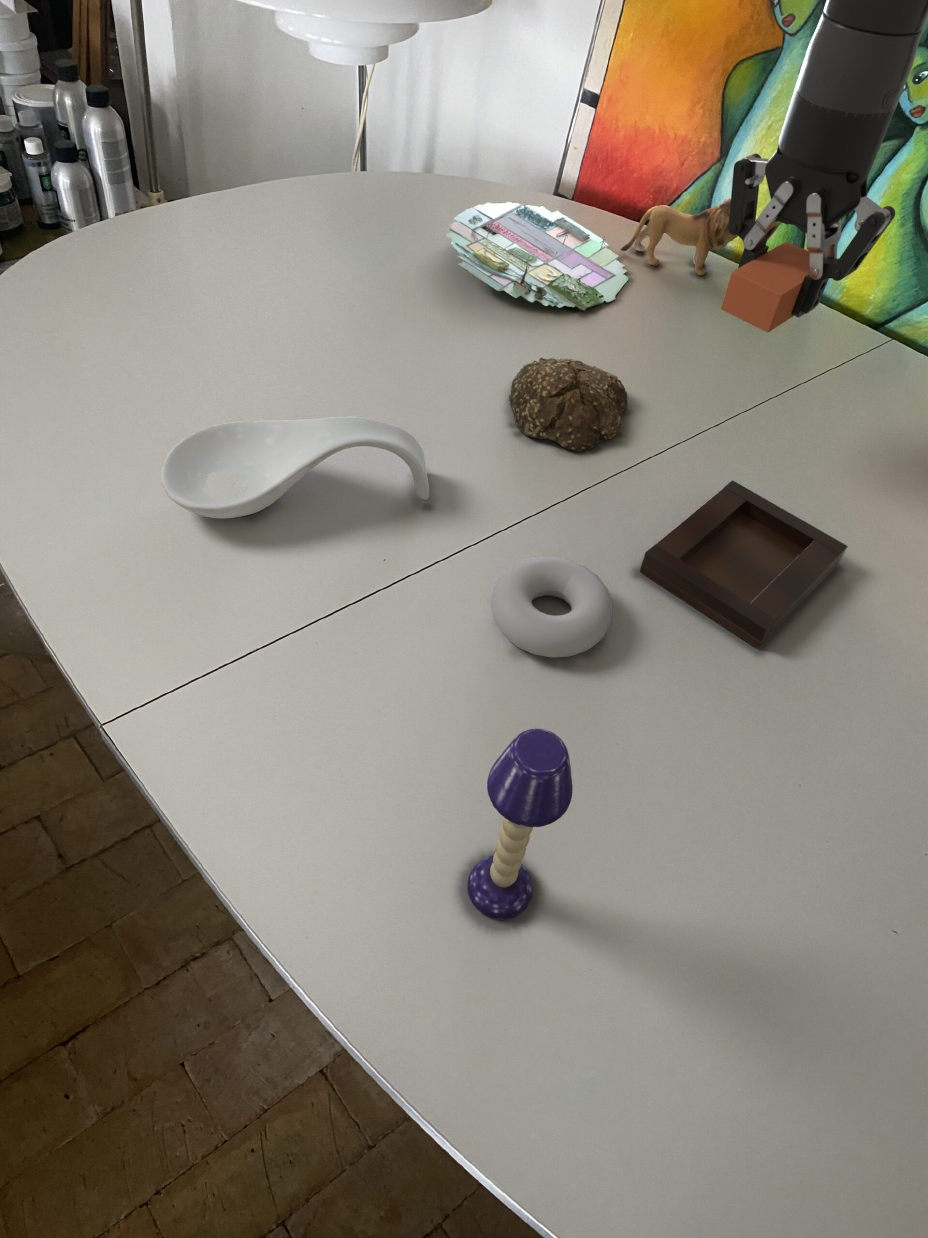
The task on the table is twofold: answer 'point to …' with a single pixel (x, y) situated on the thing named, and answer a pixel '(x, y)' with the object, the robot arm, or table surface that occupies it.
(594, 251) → the city model
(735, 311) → the orange block
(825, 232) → the robot arm
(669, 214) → the lion figurine
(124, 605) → the table surface
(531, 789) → the toy lamp
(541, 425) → the bread roll
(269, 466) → the spoon rest
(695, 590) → the back plate
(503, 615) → the donut
